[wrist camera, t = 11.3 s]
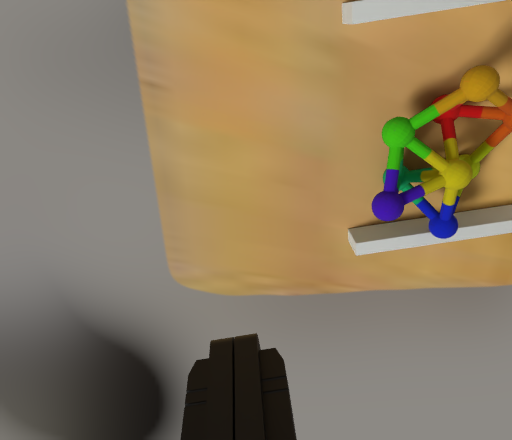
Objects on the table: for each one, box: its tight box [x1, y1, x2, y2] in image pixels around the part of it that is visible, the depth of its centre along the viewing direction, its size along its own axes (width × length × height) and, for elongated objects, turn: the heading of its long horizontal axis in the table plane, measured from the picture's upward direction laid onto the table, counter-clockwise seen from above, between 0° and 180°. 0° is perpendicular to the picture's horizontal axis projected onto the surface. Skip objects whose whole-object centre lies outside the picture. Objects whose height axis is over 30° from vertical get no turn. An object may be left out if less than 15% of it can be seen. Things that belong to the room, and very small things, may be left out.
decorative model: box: [372, 65, 512, 239], centre depth 34 cm, size 13×9×15 cm
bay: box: [342, 0, 512, 256], centre depth 35 cm, size 23×20×3 cm
